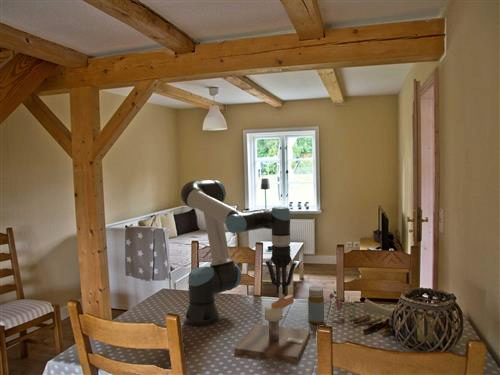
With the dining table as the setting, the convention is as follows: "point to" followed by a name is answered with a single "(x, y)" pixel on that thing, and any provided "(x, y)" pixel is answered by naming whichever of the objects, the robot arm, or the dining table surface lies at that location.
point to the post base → (273, 342)
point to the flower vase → (368, 306)
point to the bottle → (316, 305)
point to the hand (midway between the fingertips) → (281, 301)
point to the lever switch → (277, 309)
